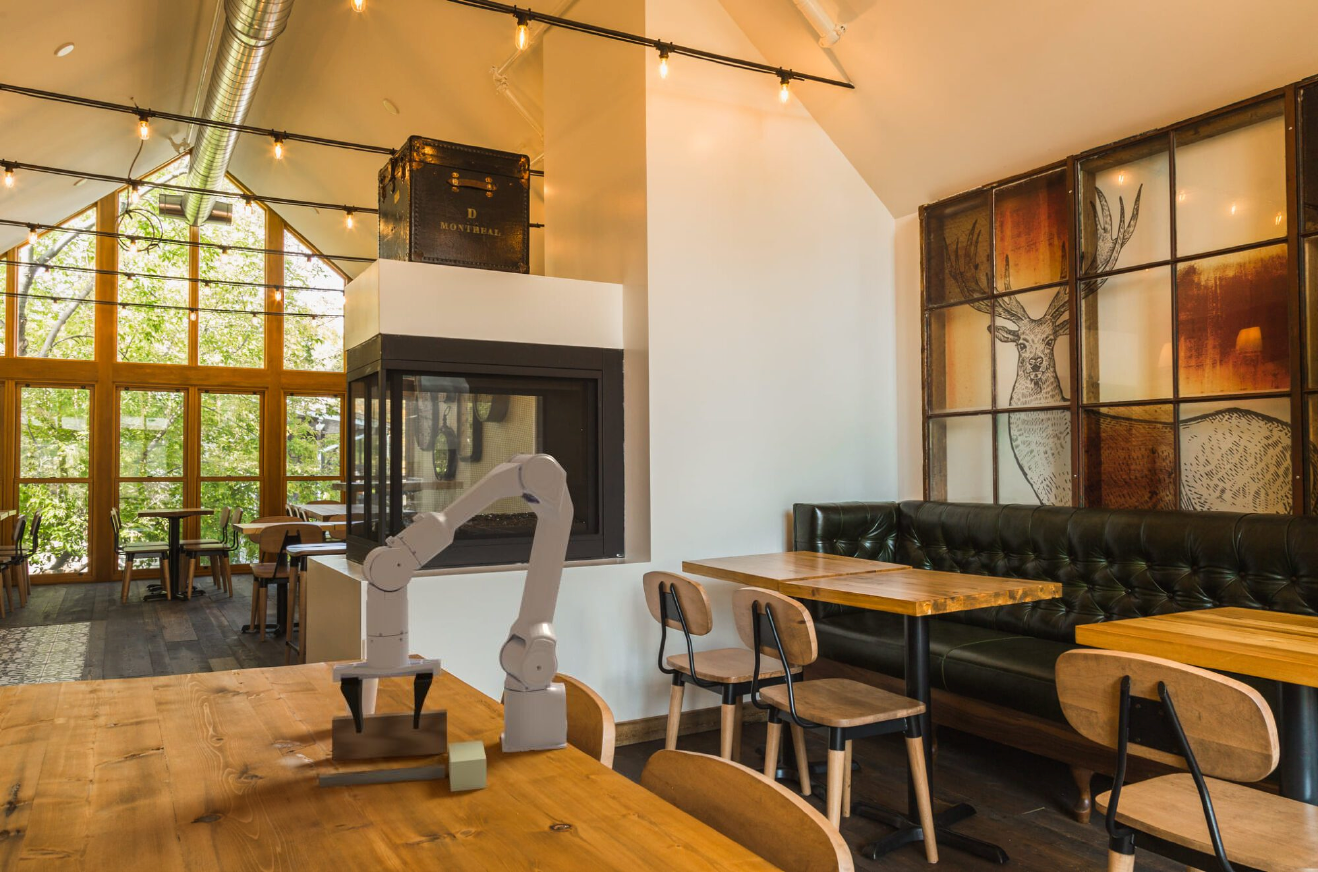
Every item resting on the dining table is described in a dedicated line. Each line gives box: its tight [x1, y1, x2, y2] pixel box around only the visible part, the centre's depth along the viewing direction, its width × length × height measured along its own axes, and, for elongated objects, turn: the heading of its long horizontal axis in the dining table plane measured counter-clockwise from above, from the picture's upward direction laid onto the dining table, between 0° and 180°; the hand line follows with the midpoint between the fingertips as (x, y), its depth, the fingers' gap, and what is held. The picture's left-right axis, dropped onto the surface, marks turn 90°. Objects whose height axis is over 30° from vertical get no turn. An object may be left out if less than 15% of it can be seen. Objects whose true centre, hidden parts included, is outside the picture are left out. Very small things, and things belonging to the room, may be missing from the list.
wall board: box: [331, 708, 448, 761], centre depth 129 cm, size 16×2×6 cm, turn 102°
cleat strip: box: [318, 764, 446, 788], centre depth 118 cm, size 16×1×2 cm, turn 102°
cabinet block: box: [448, 740, 487, 792], centre depth 118 cm, size 4×8×4 cm, turn 15°
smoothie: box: [344, 638, 379, 716], centre depth 143 cm, size 6×6×14 cm
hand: (388, 729), depth 125 cm, fingers open, 7 cm apart
